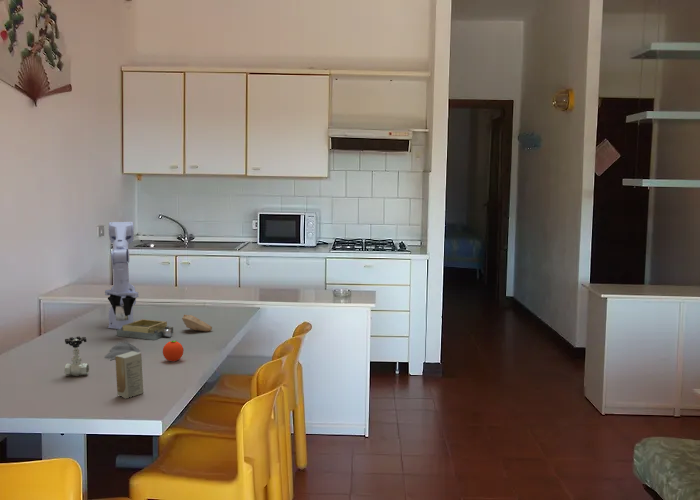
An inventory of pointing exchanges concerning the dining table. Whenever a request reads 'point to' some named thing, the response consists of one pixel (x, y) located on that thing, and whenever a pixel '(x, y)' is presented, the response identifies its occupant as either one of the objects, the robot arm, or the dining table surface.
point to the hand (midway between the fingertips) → (122, 314)
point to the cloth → (121, 350)
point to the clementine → (173, 351)
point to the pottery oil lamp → (195, 323)
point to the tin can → (120, 313)
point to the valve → (76, 358)
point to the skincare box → (129, 374)
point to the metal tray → (146, 329)
